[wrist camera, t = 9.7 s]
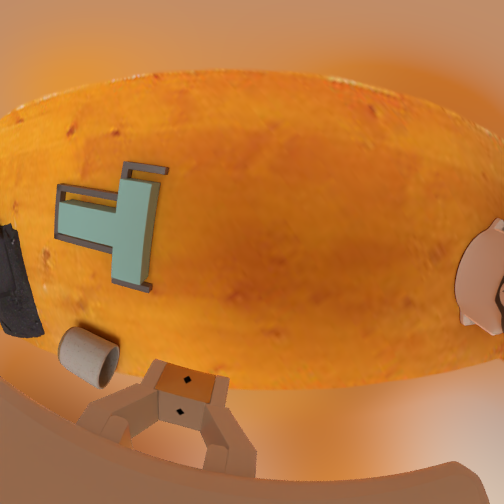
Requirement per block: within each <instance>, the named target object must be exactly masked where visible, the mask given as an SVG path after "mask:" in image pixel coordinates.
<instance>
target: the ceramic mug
mask: <svg viewBox="0 0 504 504" xmlns="http://www.w3.org/2000/svg"><path fill="white" fill-rule="evenodd" d="M118 358H119V347H118V345H116V344H114V343H112V342H110V341H108V340H105V339H103V338H101V337H99V336H97V335H95V334H93V333H91V332H89V331H87V330H85V329H83V328H80V327H72V328H70V329H68V330H67V331H66V332H65V334H64V335H63V337H62V338H61V341H60V343H59V347H58V359H59V361H60V363H61V364H62V365H63V366H64V367H65V368H66V369H67V370H69V371H70V372H72V373H74V374H75V375H77V376H78V377H80V378H82V379H83V380H85V381H86V382H88V383H89V384H91V385H93V386H94V387H96V388H98V389H103V388H104V387H106V386H107V384H108V383H109V382H110V380H111V378H112V376H113V374H114V371H115V369H116V366H117V363H118Z"/></svg>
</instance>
